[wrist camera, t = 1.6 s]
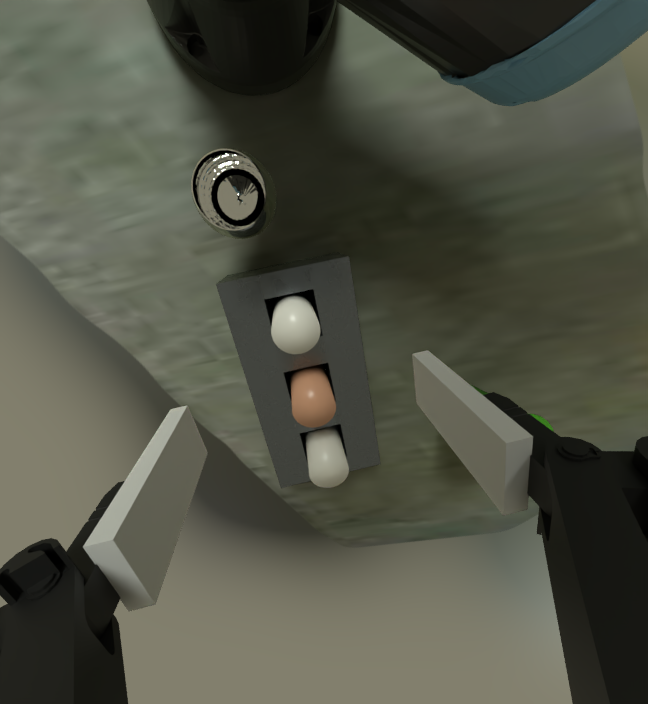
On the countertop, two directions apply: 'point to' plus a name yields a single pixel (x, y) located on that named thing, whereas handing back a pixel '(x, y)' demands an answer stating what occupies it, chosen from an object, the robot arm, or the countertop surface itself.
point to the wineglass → (233, 193)
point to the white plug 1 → (294, 324)
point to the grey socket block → (303, 358)
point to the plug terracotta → (312, 396)
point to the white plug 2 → (326, 457)
